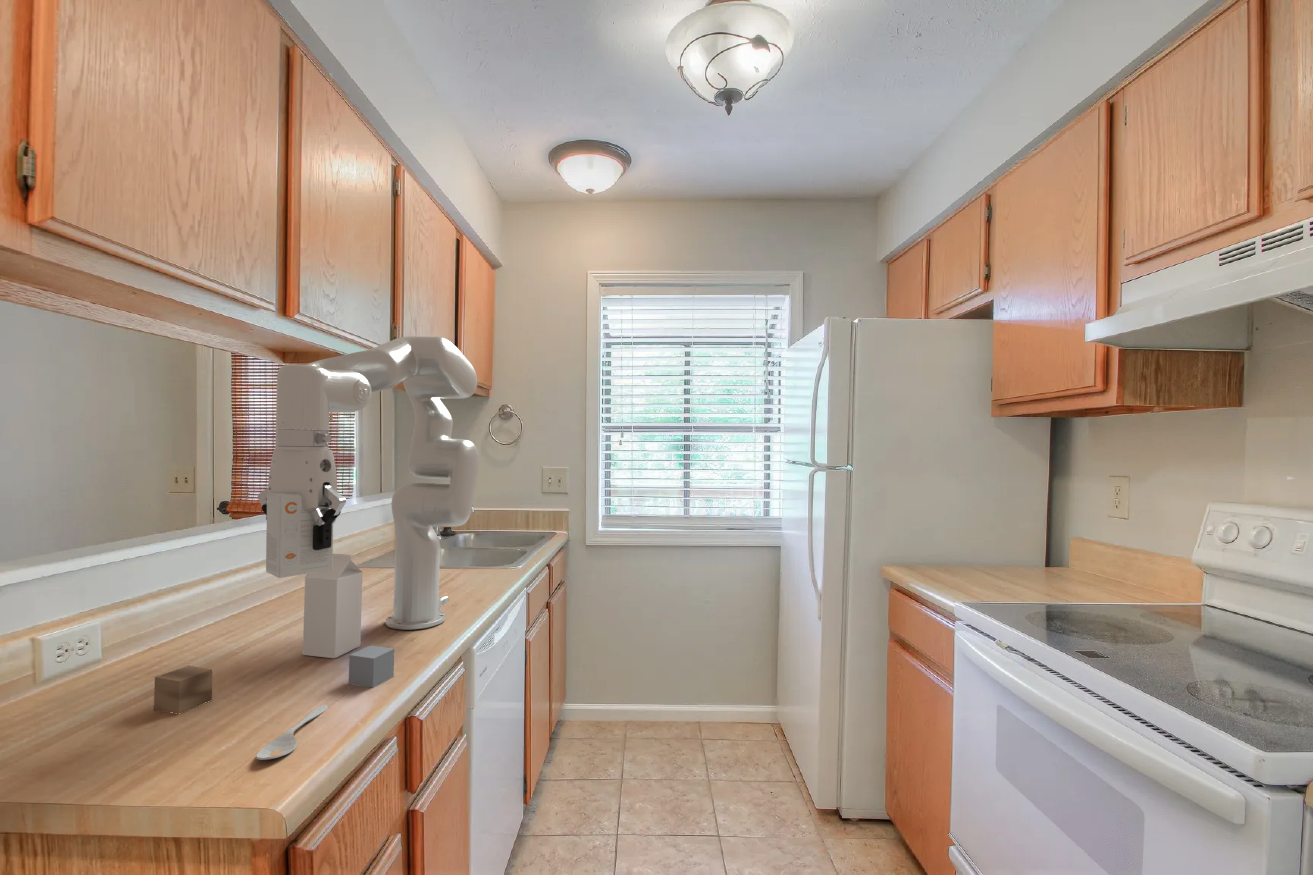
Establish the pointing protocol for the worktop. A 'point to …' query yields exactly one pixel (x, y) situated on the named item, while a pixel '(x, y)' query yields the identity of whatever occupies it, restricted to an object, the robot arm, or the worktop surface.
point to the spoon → (287, 738)
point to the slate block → (371, 666)
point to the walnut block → (183, 689)
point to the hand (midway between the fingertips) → (299, 546)
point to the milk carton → (333, 609)
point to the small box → (293, 538)
